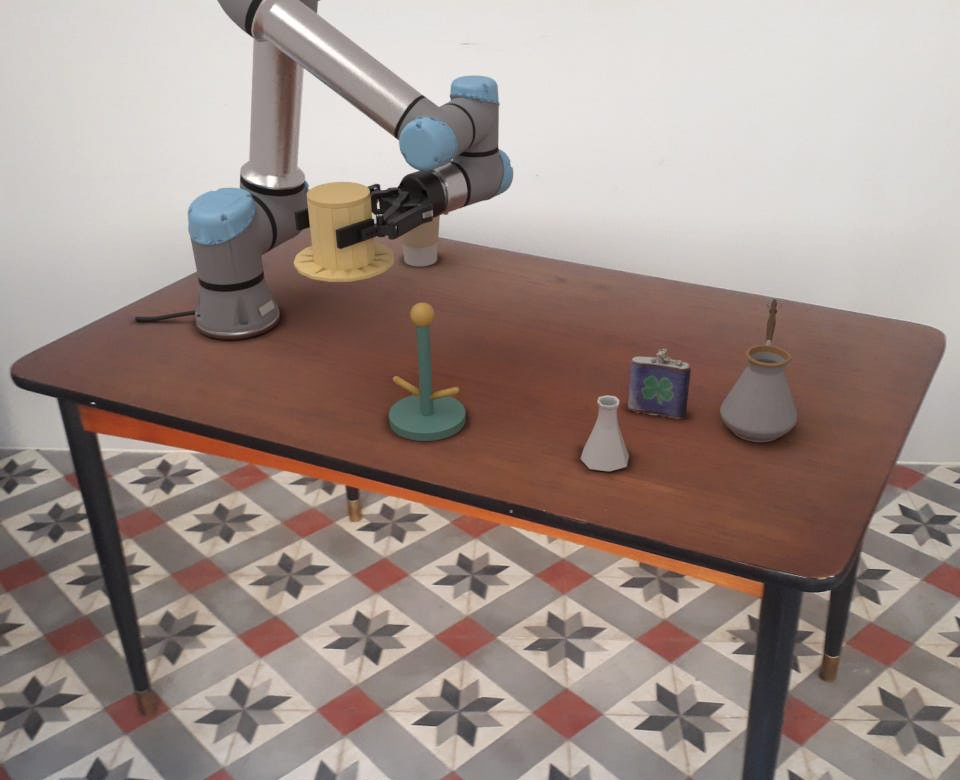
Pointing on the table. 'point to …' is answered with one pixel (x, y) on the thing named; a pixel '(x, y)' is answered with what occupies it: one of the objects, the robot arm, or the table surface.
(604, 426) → the flask
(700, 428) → the table surface
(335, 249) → the hat
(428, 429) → the hat stand
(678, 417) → the flask
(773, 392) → the coffee pot
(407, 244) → the coffee cup
